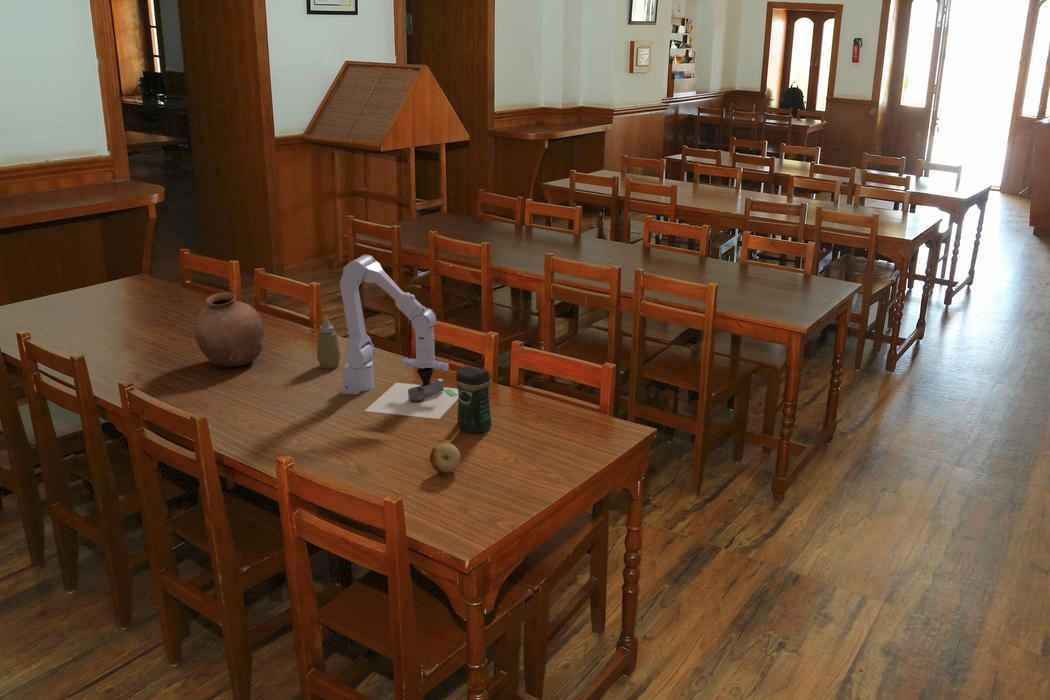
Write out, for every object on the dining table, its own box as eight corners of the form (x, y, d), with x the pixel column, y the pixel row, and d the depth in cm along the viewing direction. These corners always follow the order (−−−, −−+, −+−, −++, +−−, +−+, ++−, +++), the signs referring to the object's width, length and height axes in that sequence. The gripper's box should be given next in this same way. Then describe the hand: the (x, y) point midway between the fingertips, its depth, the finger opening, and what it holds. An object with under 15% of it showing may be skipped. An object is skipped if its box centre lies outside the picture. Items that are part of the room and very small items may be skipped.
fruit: (426, 476, 248) (424, 448, 246) (439, 463, 256) (438, 436, 253) (452, 481, 246) (451, 452, 243) (465, 467, 253) (464, 440, 251)
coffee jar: (496, 427, 278) (494, 367, 271) (477, 436, 272) (475, 375, 266) (471, 419, 283) (469, 360, 277) (453, 427, 278) (450, 368, 272)
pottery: (264, 349, 345) (257, 282, 336) (269, 370, 324) (261, 300, 316) (198, 356, 338) (189, 289, 330) (199, 379, 317) (189, 307, 309)
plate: (364, 415, 287) (364, 410, 286) (396, 386, 309) (396, 382, 308) (439, 423, 281) (439, 418, 280) (466, 394, 302) (466, 389, 302)
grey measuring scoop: (414, 403, 291) (414, 391, 289) (405, 398, 294) (404, 386, 293) (447, 392, 299) (446, 381, 297) (437, 388, 302) (436, 376, 301)
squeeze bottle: (313, 368, 325) (308, 318, 319) (326, 361, 332) (322, 312, 326) (333, 371, 322) (329, 321, 316) (346, 364, 329) (342, 314, 323)
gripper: (398, 350, 292) (400, 391, 297) (442, 354, 289) (443, 396, 293) (407, 343, 299) (409, 383, 303) (450, 347, 295) (451, 388, 300)
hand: (426, 389), depth 299 cm, fingers closed
